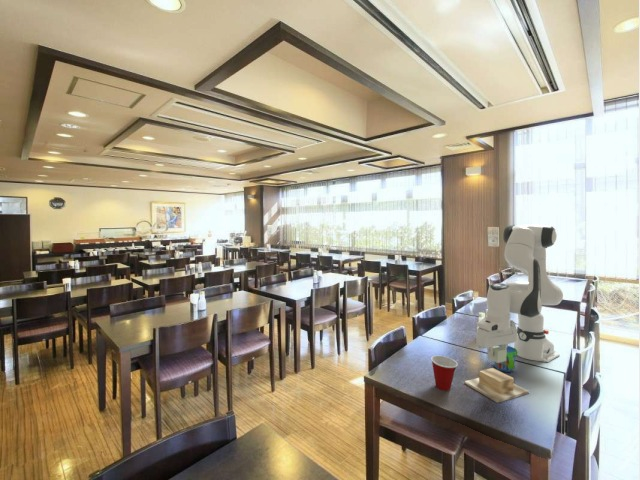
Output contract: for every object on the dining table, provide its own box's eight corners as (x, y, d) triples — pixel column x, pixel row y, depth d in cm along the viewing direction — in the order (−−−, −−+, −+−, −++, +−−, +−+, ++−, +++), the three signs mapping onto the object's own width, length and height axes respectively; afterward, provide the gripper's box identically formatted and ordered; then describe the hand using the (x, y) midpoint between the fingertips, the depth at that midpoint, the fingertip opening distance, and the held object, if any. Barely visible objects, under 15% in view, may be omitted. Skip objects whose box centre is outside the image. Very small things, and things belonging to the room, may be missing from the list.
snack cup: (487, 360, 160) (487, 341, 160) (510, 363, 158) (511, 343, 157) (496, 375, 145) (497, 354, 144) (522, 378, 142) (522, 356, 142)
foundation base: (494, 375, 145) (494, 363, 144) (528, 393, 130) (529, 379, 130) (464, 383, 138) (465, 370, 138) (497, 402, 123) (497, 388, 123)
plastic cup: (460, 395, 129) (461, 366, 128) (432, 393, 131) (433, 364, 130) (453, 382, 139) (454, 355, 139) (428, 380, 141) (428, 353, 140)
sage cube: (495, 356, 136) (496, 345, 136) (506, 361, 132) (506, 349, 131) (487, 358, 135) (487, 346, 134) (497, 363, 130) (498, 351, 130)
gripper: (508, 317, 139) (507, 348, 140) (473, 323, 131) (472, 355, 132) (522, 321, 133) (520, 353, 134) (486, 327, 126) (485, 361, 126)
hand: (496, 354), depth 133 cm, fingers closed on sage cube, 5 cm apart
